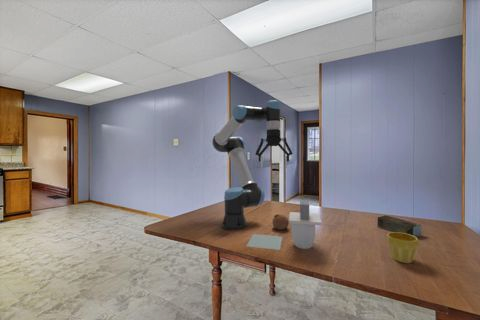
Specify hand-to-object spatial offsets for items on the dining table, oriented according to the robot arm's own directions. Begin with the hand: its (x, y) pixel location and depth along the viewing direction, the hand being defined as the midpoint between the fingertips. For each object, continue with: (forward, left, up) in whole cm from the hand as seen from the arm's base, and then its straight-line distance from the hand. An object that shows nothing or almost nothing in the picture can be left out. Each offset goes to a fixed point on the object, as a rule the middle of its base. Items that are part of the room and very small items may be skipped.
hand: (273, 167), depth 122 cm
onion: (+3, +6, -37) cm, 38 cm away
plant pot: (+55, -18, -37) cm, 69 cm away
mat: (-3, -14, -37) cm, 39 cm away
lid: (+16, -14, -24) cm, 32 cm away
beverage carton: (+67, +18, -37) cm, 79 cm away
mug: (+16, -14, -37) cm, 43 cm away
